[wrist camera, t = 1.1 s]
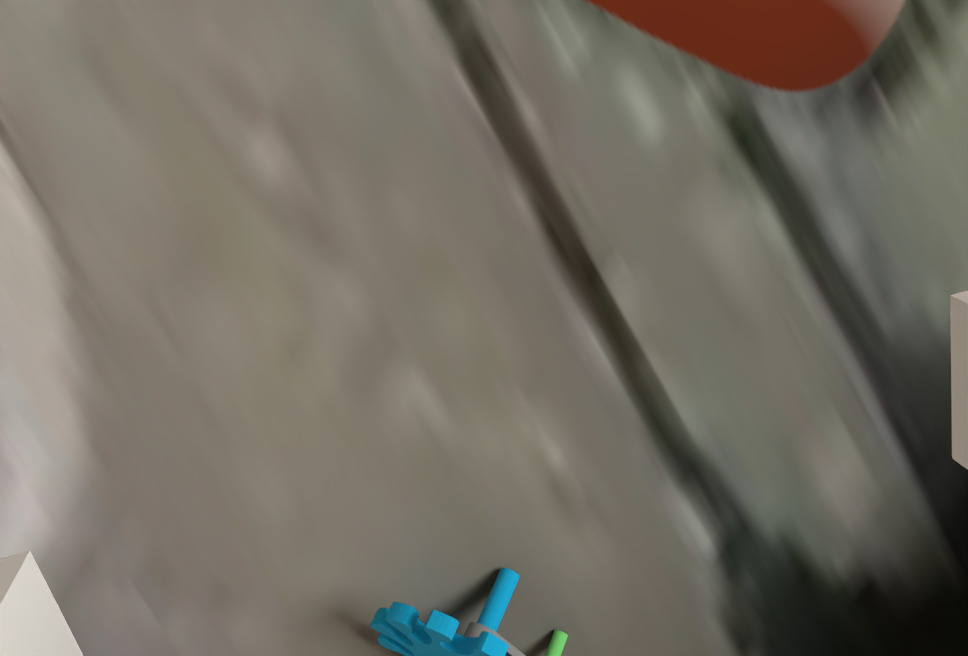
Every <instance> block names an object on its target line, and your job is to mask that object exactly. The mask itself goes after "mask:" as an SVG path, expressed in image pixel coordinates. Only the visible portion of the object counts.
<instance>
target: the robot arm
mask: <svg viewBox="0 0 968 656" xmlns="http://www.w3.org/2000/svg"><path fill="white" fill-rule="evenodd" d="M950 296H951V397H952V459H954V460H955V461H957V462H958V463H959V464H961V465H962V466H963V467H965V468H966V469H968V291H964V292H961V293H957V294H953V295H950ZM0 656H83V654H82V652H81V650H80V648H79V646H78V644H77V642H76V640H75V638H74V636H73V634H72V632H71V630H70V628H69V627H68V625H67V623H66V621H65V619H64V617H63V615H62V613H61V611H60V609H59V607H58V605H57V603H56V601H55V599H54V597H53V595H52V593H51V591H50V589H49V587H48V585H47V583H46V581H45V579H44V577H43V575H42V574H41V572H40V570H39V568H38V566H37V564H36V562H35V560H34V558H33V556H32V554H31V552H30V551H27V552H23V553H20V554H16V555H12V556H9V557H5V558H2V559H0Z"/></svg>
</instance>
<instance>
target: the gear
mask: <svg viewBox="0 0 968 656" xmlns="http://www.w3.org/2000/svg"><path fill="white" fill-rule="evenodd" d="M519 578H520V577H519V575H518V574H517V573H516V572H514V571H512V570H510V569H507V568H501V570H500V572H499V574H498V577H497V579H496V581H495V583H494V585H493V588H492V590H491V592H490V594H489V597H488V599H487V601H486V603H485V606H484V608H483V610H482V612H481V615H480V617H479V619H478V621H477V623H476V622H470V623H469V626H468V628H467V630H466V632H465V634H464V636H461V635H459V634H457V633H455V632H456V630H457V628H458V626H459V622H458V620H456V619H454V618H453V617H451V616H448V615H446V614H444V613H442V612H439V611H437V610H432V612H431V614H430V616H429V618H428V620H427V622H426V624H424V623H423V622H421V621H420V620H419V619H418V617H419V615H420V614H419V612H418V611H417V610H416V609H415V608H413V607H412V606H409V605H406V604H402V603H398V602H393V604H392V606H391V608H390V610H389V609H387V608H380V609H378V610H377V612H376V614H375V616H374V618H373V620H372V622H371V624H370V627H372V628H373V629H374V630H376V631H378V632H380V635H379V637H378V639H377V640H378V643H379V644H380V645H381V646H383V647H385V648H387V649H389V650H391V651H395V652H398V653H400V654H402V656H526V655H524V654H523V653H522V652H520V651H519V650H518V649H517V648H515V647H514V646H513V645H512V644H510V643H509V642H508V641H507V640H505V639H504V638H503V637H501V636H500V635H499V634H498V633H496V631H497V629H498V627H499V624H500V622H501V620H502V617H503V615H504V613H505V610H506V608H507V606H508V603H509V601H510V599H511V596H512V594H513V592H514V589H515V587H516V585H517V582H518V580H519ZM567 637H568V635H567V634H566V633H564V632H562V631H560V630H554V633H553V635H552V638H551V641H550V643H549V646H548V648H547V651H546V653H545V656H561V653H562V651H563V648H564V645H565V643H566V640H567Z"/></svg>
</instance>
